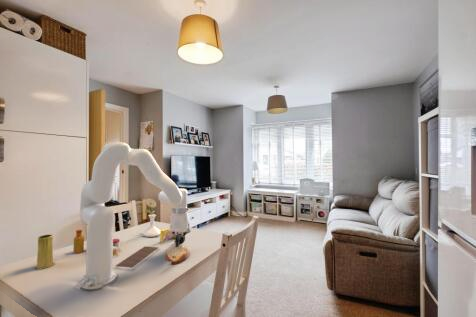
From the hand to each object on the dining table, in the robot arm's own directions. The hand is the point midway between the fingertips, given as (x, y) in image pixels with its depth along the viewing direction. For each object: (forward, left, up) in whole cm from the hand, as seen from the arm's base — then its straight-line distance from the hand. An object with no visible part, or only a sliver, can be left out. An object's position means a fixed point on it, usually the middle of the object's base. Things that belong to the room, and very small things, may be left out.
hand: (179, 242), depth 124 cm
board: (-12, +17, -5) cm, 22 cm away
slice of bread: (-5, 0, -5) cm, 7 cm away
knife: (-6, 0, 0) cm, 6 cm away
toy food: (-9, +43, -5) cm, 44 cm away
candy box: (+15, +12, -5) cm, 19 cm away
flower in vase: (+21, +30, -5) cm, 37 cm away
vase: (-28, +56, -5) cm, 63 cm away
